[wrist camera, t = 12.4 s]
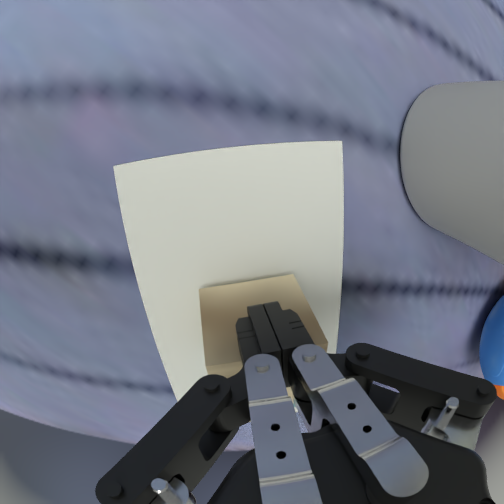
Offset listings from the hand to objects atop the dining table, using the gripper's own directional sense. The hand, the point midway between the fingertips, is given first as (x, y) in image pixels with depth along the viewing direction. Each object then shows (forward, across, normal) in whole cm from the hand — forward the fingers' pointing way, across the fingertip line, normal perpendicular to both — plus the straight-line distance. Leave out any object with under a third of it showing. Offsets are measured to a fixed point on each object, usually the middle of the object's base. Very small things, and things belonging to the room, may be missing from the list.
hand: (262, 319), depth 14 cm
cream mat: (+6, 0, +4) cm, 7 cm away
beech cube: (+2, 0, +1) cm, 2 cm away
